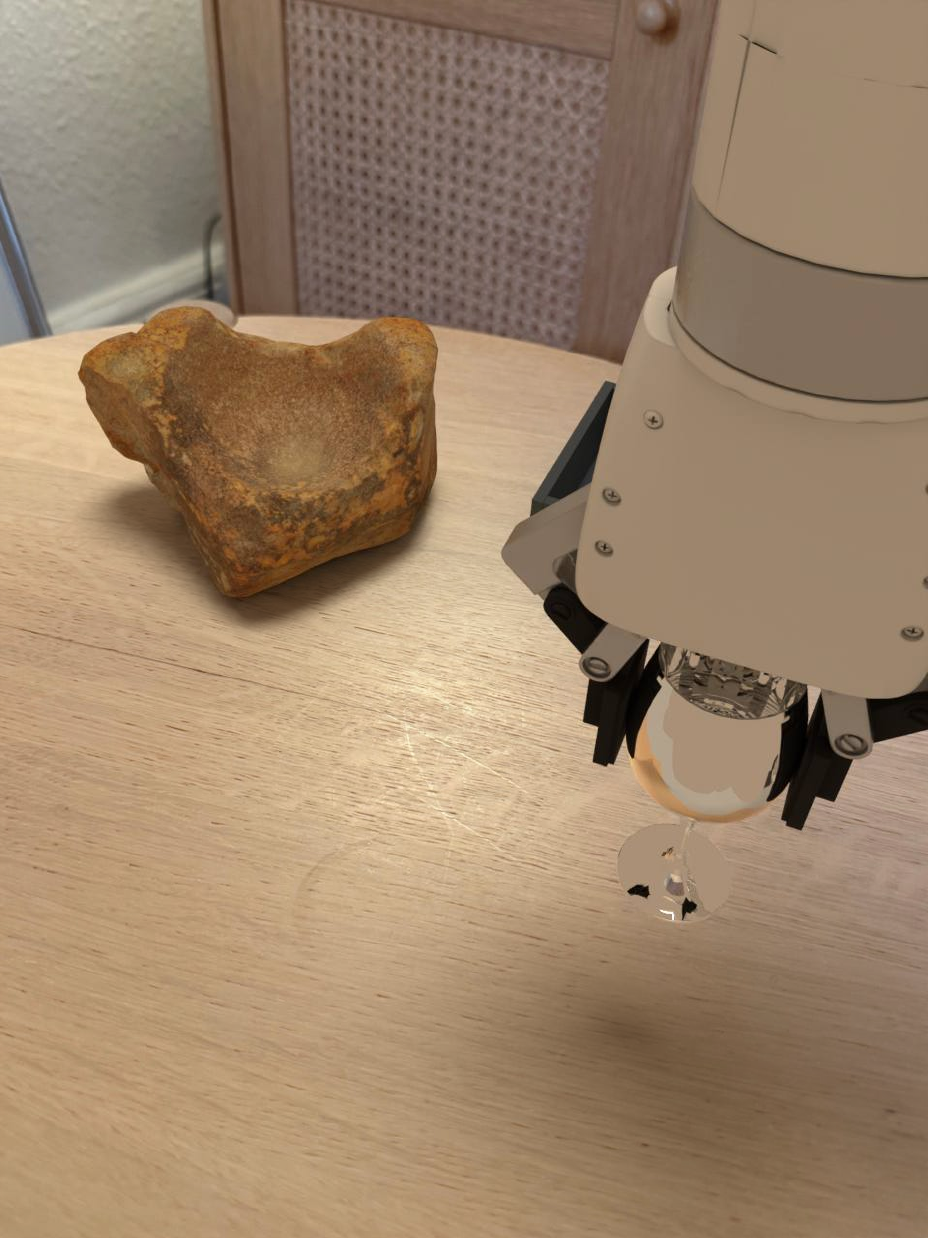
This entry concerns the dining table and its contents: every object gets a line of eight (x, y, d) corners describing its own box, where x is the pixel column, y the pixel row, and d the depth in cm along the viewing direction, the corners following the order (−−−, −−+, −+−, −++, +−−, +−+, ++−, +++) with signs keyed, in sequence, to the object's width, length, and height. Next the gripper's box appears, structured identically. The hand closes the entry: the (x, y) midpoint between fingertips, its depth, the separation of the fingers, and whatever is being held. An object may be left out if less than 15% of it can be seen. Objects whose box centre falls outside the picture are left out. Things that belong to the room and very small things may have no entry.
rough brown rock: (93, 645, 68) (43, 466, 57) (112, 468, 79) (72, 287, 67) (457, 625, 72) (478, 453, 60) (428, 458, 82) (441, 285, 71)
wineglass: (695, 970, 39) (766, 767, 31) (569, 877, 42) (603, 666, 33) (776, 868, 42) (861, 658, 34) (654, 787, 45) (704, 574, 36)
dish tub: (795, 496, 80) (815, 433, 76) (749, 632, 70) (769, 568, 66) (596, 441, 84) (605, 379, 80) (525, 563, 74) (531, 498, 70)
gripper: (1247, 280, 25) (971, 763, 38) (541, 153, 29) (508, 624, 42) (1288, 459, 20) (955, 946, 33) (430, 274, 24) (431, 766, 37)
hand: (704, 761), depth 37 cm, fingers closed on wineglass, 5 cm apart
